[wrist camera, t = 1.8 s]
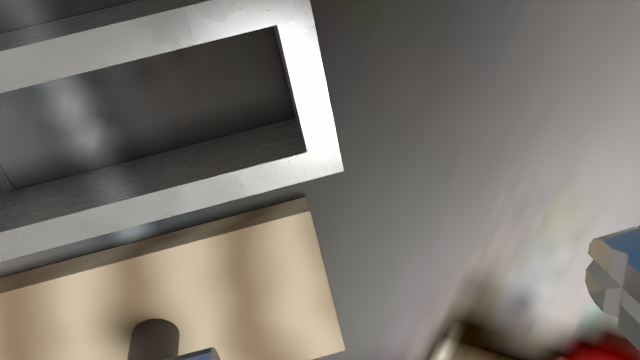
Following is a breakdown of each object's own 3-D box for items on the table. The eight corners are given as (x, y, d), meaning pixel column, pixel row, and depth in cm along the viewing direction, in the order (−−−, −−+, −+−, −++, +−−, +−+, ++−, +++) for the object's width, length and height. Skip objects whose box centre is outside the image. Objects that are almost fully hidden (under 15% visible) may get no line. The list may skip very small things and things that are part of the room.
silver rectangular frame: (291, -37, 23) (305, -23, 20) (327, 135, 28) (343, 170, 24) (-107, 59, 22) (-165, 91, 19) (1, 220, 27) (-30, 269, 23)
